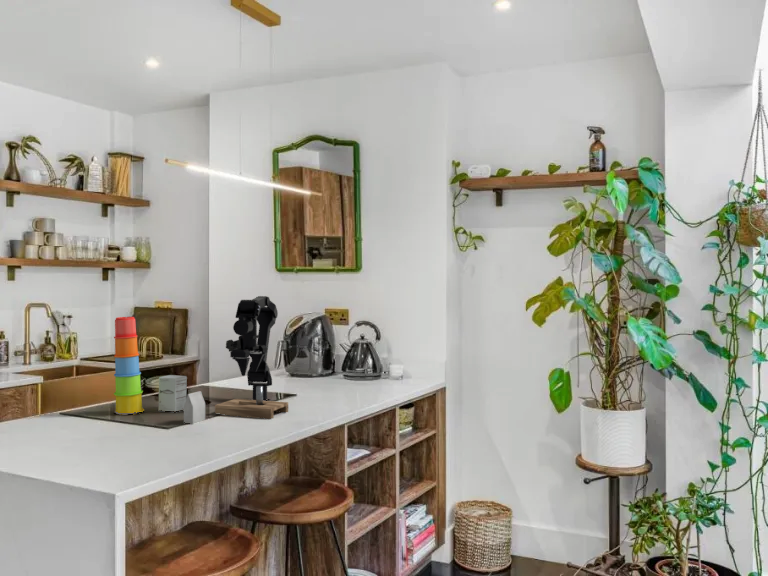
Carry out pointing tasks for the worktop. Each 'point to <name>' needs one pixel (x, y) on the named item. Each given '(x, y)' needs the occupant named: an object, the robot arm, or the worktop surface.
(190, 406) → the grey gabled carton
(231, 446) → the worktop surface
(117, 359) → the stacking cups
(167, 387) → the supplement box
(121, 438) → the worktop surface
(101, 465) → the worktop surface
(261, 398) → the tee peg
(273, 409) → the keyhole board
